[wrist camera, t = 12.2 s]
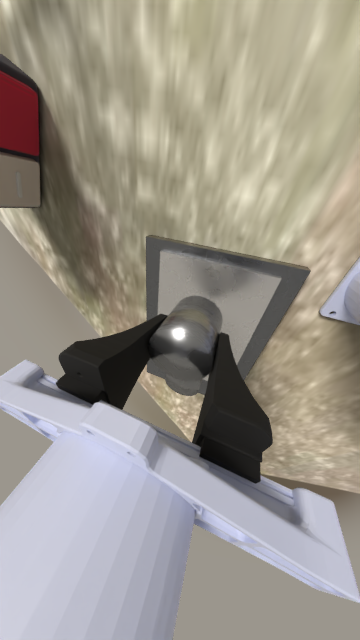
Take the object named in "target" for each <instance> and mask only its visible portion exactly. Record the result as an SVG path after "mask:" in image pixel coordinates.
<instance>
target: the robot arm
mask: <svg viewBox="0 0 360 640" xmlns="http://www.w3.org/2000/svg"><path fill="white" fill-rule="evenodd" d="M332 311H335V312H334V313H333V314H329V313H330V312H332ZM320 314H321V315H322V316H325V317H329V318H333V319H337V320H341V321H345V322H349V323H353V324H356V325H360V257H359V258H358V260H357V261H356V262H355V264H354V265H353V266H352V268H351V269H350V270H349V272H348V273H347V274H346V276H345V277H344V278H343V280H342V281H341V282H340V284H339V285H338V286H337V288H336V289H335V290H334V291H333V293H332V294H331V295H330V297H329V298H328V299H327V301H326V302H325V303H324V305H323V306H322V307H321V309H320ZM167 316H168V315H164V314H159V315H157V316H155V317H154V318H152V319H150V320H148V321H146V322H144V323H142V324H140V325H138V326H136V327H134V328H131V329H129V330H126V331H123V332H121V333H117V334H114V335H110V336H107V337H102V338H97V339H92V340H85V341H77V342H75V343H74V344H72V345H71V346H70V347H68V348H67V349H66V350H64V351H63V352H62V353H60V355H59V361H60V363H61V366H62V368H63V370H64V372H65V373H66V374H65V375H64V376H62V377H61V378H60V379H59V380H57V379H55V378H53V377H51V376H49V375H47V374H45V373H44V371H43V369H42V368H41V367H40V366H39V365H37V364H35V363H33V362H30V361H28V360H24V361H23V362H21V363H20V364H18V365H17V366H15V367H14V368H12V369H11V370H9V371H8V372H6V373H5V374H3V375H2V376H0V408H1V409H2V410H3V411H5V412H7V413H8V414H10V415H12V416H13V417H15V418H17V419H18V420H20V421H22V422H23V423H25V424H26V425H28V426H30V427H31V428H33V429H34V430H36V431H38V432H39V433H41V434H42V435H44V436H45V437H47V438H49V439H50V440H52V441H53V442H54V443H53V444H52V445H51V446H50V448H49V449H48V450H47V451H46V452H45V453H44V455H43V456H42V457H41V458H40V459H39V461H38V462H37V463H36V464H35V465H34V467H33V468H32V469H31V470H30V471H29V472H28V474H27V475H26V476H25V477H24V478H23V480H22V481H21V482H20V483H19V485H18V486H17V487H16V488H15V489H14V490H13V492H12V493H11V494H10V495H9V497H8V498H7V499H6V500H5V501H4V502H3V503H2V505H1V506H0V640H173V634H174V629H175V623H176V617H177V612H178V607H179V600H180V595H181V590H182V585H183V579H184V573H185V568H186V562H187V557H188V551H189V546H190V540H191V535H192V529H193V524H195V525H197V526H200V527H201V528H203V529H205V530H207V531H209V532H211V533H213V534H215V535H217V536H218V537H220V538H222V539H224V540H226V541H228V542H230V543H232V544H234V545H235V546H237V547H239V548H241V549H243V550H245V551H247V552H249V553H251V554H253V555H255V556H256V557H258V558H260V559H262V560H264V561H266V562H268V563H269V564H271V565H273V566H275V567H277V568H279V569H280V570H282V571H284V572H286V573H288V574H290V575H291V576H293V577H295V578H297V579H298V580H300V581H302V582H304V583H306V584H307V585H309V586H311V587H313V588H314V589H317V590H320V591H323V592H327V593H330V594H332V595H336V596H339V597H342V598H345V599H348V600H352V601H355V602H358V603H360V595H359V591H358V587H357V584H356V580H355V576H354V573H353V569H352V566H351V562H350V559H349V555H348V552H347V548H346V545H345V541H344V537H343V534H342V530H341V528H340V523H339V520H338V516H337V513H336V509H335V505H334V503H333V502H332V501H331V500H329V499H327V498H325V497H323V496H321V495H319V494H316V493H314V492H312V491H310V490H308V489H305V488H295V489H293V490H291V489H289V488H287V487H284V486H282V485H280V484H278V483H276V482H274V481H272V480H270V479H268V478H265V477H263V476H261V475H260V462H262V452H263V451H264V450H266V449H267V448H268V447H270V446H271V445H272V442H273V439H272V431H271V426H270V422H269V418H268V417H267V415H266V414H265V413H264V411H263V410H262V409H261V407H260V406H259V405H258V403H257V402H256V401H255V399H254V398H253V396H252V394H251V393H250V391H249V389H248V388H247V386H246V384H245V382H244V380H243V378H242V376H241V374H240V372H239V370H238V367H237V365H236V362H235V359H234V356H233V353H232V349H231V345H230V339H229V335H228V334H225V333H222V332H220V335H219V339H218V343H217V347H216V351H215V355H214V360H213V364H212V368H211V371H210V373H209V377H208V383H207V389H206V393H205V397H204V401H203V404H202V408H201V412H200V416H199V419H198V423H197V427H196V430H195V434H194V437H193V441H192V443H191V442H189V441H187V440H185V439H182V438H181V437H178V436H176V435H174V434H172V433H170V432H168V431H166V430H164V429H161V428H159V427H157V426H155V425H153V424H151V423H149V422H147V421H144V420H142V419H140V418H138V417H136V416H134V415H132V414H129V413H127V412H125V411H123V410H122V409H123V407H124V405H125V403H126V401H127V399H128V397H129V395H130V393H131V391H132V389H133V387H134V385H135V383H136V381H137V380H138V378H139V376H140V374H141V372H142V371H143V369H144V367H145V365H146V364H147V362H148V361H149V360H150V358H151V357H150V355H149V352H148V343H149V340H150V338H151V337H152V336H153V334H154V333H155V332H156V330H157V329H158V328H159V327H160V325H161V324H162V323H163V322H164V320H165V319H166V318H167Z"/></svg>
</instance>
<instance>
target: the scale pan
mask: <svg viewBox="0 0 360 640" xmlns="http://www.w3.org/2000/svg"><path fill="white" fill-rule="evenodd" d="M281 279H282V278H281V276H276V275H272V274H267V273H263V272H259V271H254V270H250V269H245V268H241V267H236V266H232V265H227V264H223V263H218V262H214V261H209V260H205V259H200V258H196V257H191V256H187V255H183V254H178V253H174V252H169V251H165V250H162V251H160V270H159V294H158V315H159V314H164V315H169V314H170V313H171V311H172V310H173V309H174V308H175V306H176V305H177V304H178V303H179V301H181V300H182V299H183V298H186V297H189V296H201V297H205V298H207V299H209V300H211V301H212V302H213V303H215V304H216V305H217V307H218V308H219V309H220V311H221V314H222V319H223V322H222V327H221V331H220V332H222V333H225V334H228V335H229V339H230V345H231V349H232V353H233V356H234V359H235V362H236V365H237V364H238V362H239V360H240V358H241V356H242V354H243V352H244V350H245V348H246V347H247V345H248V343H249V341H250V339H251V337H252V335H253V333H254V331H255V329H256V327H257V325H258V323H259V321H260V319H261V318H262V316H263V314H264V312H265V310H266V308H267V306H268V304H269V302H270V300H271V298H272V296H273V294H274V292H275V291H276V289H277V287H278V285H279V283H280V281H281ZM208 377H209V374H208V375H207V376H206V377H205V378H203V380H206V381H208Z"/></svg>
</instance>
